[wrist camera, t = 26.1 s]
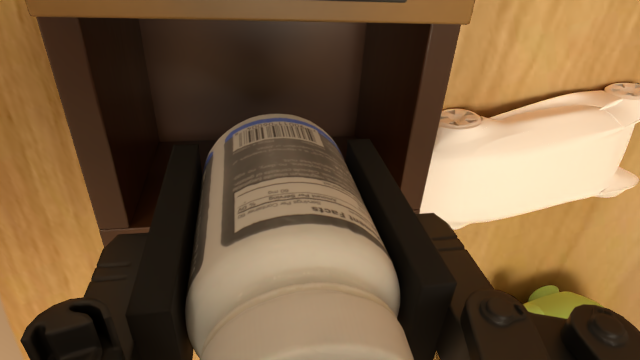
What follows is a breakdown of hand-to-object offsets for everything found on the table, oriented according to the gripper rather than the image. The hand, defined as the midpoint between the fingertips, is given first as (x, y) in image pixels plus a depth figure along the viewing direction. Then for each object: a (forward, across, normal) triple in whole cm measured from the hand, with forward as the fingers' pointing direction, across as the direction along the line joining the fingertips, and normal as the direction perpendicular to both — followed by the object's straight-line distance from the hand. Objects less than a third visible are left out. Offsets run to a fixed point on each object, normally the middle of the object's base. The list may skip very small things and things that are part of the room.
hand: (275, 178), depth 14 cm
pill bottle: (+1, 0, 0) cm, 1 cm away
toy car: (+12, +18, -6) cm, 22 cm away
